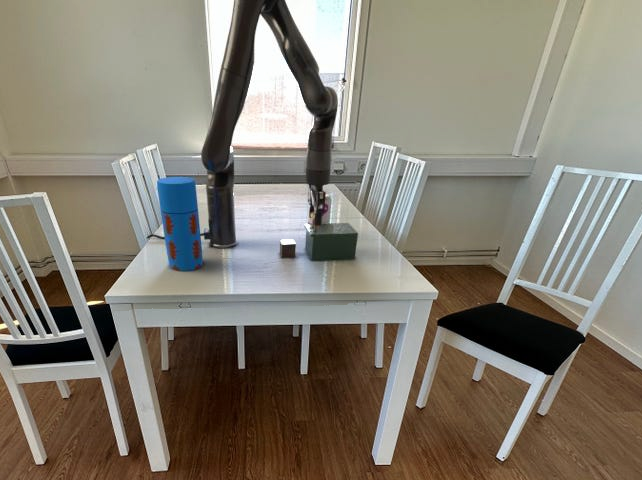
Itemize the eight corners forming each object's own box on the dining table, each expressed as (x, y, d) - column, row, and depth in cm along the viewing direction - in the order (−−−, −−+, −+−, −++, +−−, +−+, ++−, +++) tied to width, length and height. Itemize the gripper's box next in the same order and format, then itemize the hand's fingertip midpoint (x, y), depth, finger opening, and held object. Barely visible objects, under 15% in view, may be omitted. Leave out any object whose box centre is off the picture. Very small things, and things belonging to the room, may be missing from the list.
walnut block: (281, 257, 131) (281, 244, 129) (279, 253, 135) (280, 239, 132) (295, 257, 132) (295, 243, 129) (293, 252, 136) (293, 239, 133)
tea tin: (311, 260, 129) (313, 237, 125) (305, 248, 139) (306, 226, 134) (354, 259, 131) (357, 235, 126) (345, 247, 140) (348, 225, 136)
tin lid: (310, 237, 125) (311, 218, 122) (304, 226, 134) (305, 209, 131) (357, 235, 126) (360, 217, 123) (348, 225, 136) (350, 208, 133)
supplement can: (327, 240, 147) (331, 197, 138) (305, 238, 148) (307, 196, 140) (329, 233, 153) (332, 192, 145) (308, 232, 155) (310, 191, 146)
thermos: (187, 273, 120) (176, 185, 105) (161, 266, 124) (148, 181, 110) (210, 262, 127) (202, 179, 113) (185, 256, 132) (175, 175, 118)
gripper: (301, 163, 124) (299, 216, 134) (310, 171, 113) (307, 228, 122) (325, 162, 125) (321, 215, 134) (336, 170, 113) (331, 227, 123)
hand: (314, 221), depth 128 cm, fingers open, 8 cm apart
